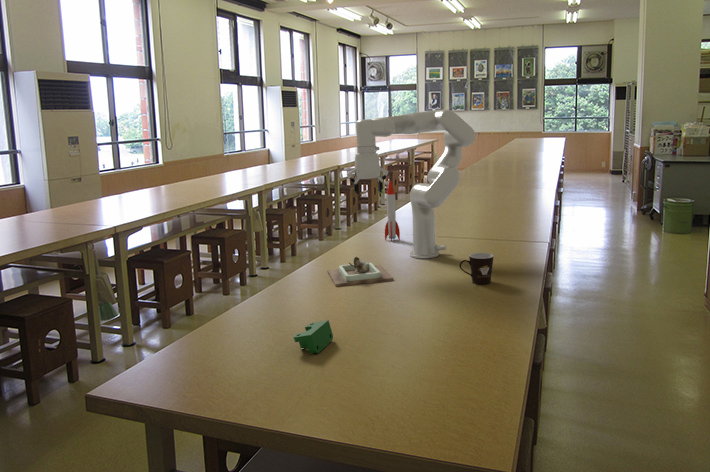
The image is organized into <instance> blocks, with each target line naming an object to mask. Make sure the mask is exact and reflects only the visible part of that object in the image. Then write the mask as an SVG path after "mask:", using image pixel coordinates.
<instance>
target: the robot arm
mask: <svg viewBox="0 0 710 472" xmlns="http://www.w3.org/2000/svg"><path fill="white" fill-rule="evenodd" d="M355 128H356V129H355V130H356V150H357V153H356V154H354V155H355V156H354V168H353V169H351V170H350V171H348V172H347V173H346V176H347V178H348V179H349V181H350V182H352V183H353V190H354V191H353V192H355V194H356V195H358V194H360V193H359V183H358V182H359V181H360V180H367V179H377V180H378V182H377V190H378V192H379V193H382V190H383V187H384V186H383V185H384V184H383V182H384V180H386V178H387V176H388V174H389V170H387V169H385V168H383V167H381V165H380V164H381V163H380V158H379V155H378V153H377V151H380V147H379V146H377V145H376V144H377V143H376V142H377V141H376V138H377V137H379V138H380V137H382V138H386V137H387V138H388V137H390V136H392V135H401V134H402V135H415V134H423V133H429V132H431V133H432V132H437V131H444V133H443V142H444V151H443V153H442V154H441V155H440V157H439V158H438V160H437V161H436V162H435V163H434V164H433V166H432V167H431V168H430V169H429V171H428V173H427V174H426V175H427V177H426V178H427V182H428V183H425V182H420V183H416V184H414V185H413V187H412V188H411V190H410V193H409V199H410V201H409V202H410V205H411V211H412V238H413V239H412V242H413V244H412V247H413V250H411V251H410V252H409V256H410V257H412V258H415V259H432V258H437V257H439V255H440V251H445V250H447V246H446V245H441V244H439V245H438V244H436V225H435V224H436V223H435V221H436V220H435V219H436V218H435V217H436V215H435V214H436V213H435V210H434V209H436V208H439V207H440V206H442V205H443V204H444V202H446V200H447V199H448V197H450V196H451V194H452V193H453V192H454V190H455V189H456V188H457V186H458V185H459V182H460V179H461V177H460V176H461V175H460V174H461V173H460V171H459V169H458V167H459V166H460V164H461V162H462V160H463V148H466V147H470V146H471V145H473V144H474V143H475V141H476V133H475V130H474V129H473V127H472V126H471V125H470V124H468V122H466V121H465V120H464V119H463V118H461V116H459V115H458V114H457V113H455V111H453V110H451V109H437V110H436V109H435V110H426V111H419V112H411V113H405V114H400V115H394V116H392V115H391V116H384V117H375V118H373V119H372V118H371V119H370V118H368V119H365V118H364V119H359V120H357V121H356V124H355ZM381 172H382V173H383V175H382V176H381ZM353 174H354V178H353V177H352V175H353Z"/></svg>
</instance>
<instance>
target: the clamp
mask: <svg viewBox="0 0 710 472" xmlns="http://www.w3.org/2000/svg"><path fill="white" fill-rule="evenodd" d="M304 329H305V331H303V332H297V333H296V334H294V335H293V340H294V343H298V344H299V347H300V349H301V348H306V349H305V350H307V351H308V353H309V354H310V353H315V354H320V352H322V350H324V349H325V347H327V346H328V345H329V344H330V343H331V342H332V341H333V339H334V334H333V330H332V328H331V324H330V321H329V319H326V320H322V321H321V320H320V321H315V322H311V323H309V324H307V325H306V326H304Z"/></svg>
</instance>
